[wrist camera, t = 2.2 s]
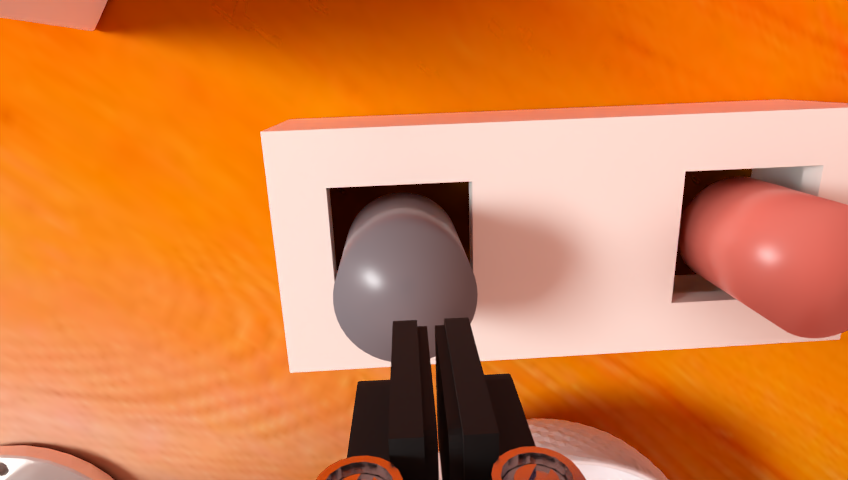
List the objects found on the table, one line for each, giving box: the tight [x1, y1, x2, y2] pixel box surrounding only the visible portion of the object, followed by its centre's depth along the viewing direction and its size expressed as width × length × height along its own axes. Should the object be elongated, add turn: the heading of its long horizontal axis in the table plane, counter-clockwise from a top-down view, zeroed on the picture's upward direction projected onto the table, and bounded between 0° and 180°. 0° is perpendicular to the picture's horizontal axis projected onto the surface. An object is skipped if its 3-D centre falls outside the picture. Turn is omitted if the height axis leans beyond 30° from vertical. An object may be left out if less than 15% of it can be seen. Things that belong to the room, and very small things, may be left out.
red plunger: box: [678, 176, 848, 338], centre depth 20 cm, size 5×5×6 cm
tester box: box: [260, 99, 848, 373], centre depth 25 cm, size 10×24×6 cm, turn 92°
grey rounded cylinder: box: [333, 192, 478, 362], centre depth 20 cm, size 5×5×6 cm
